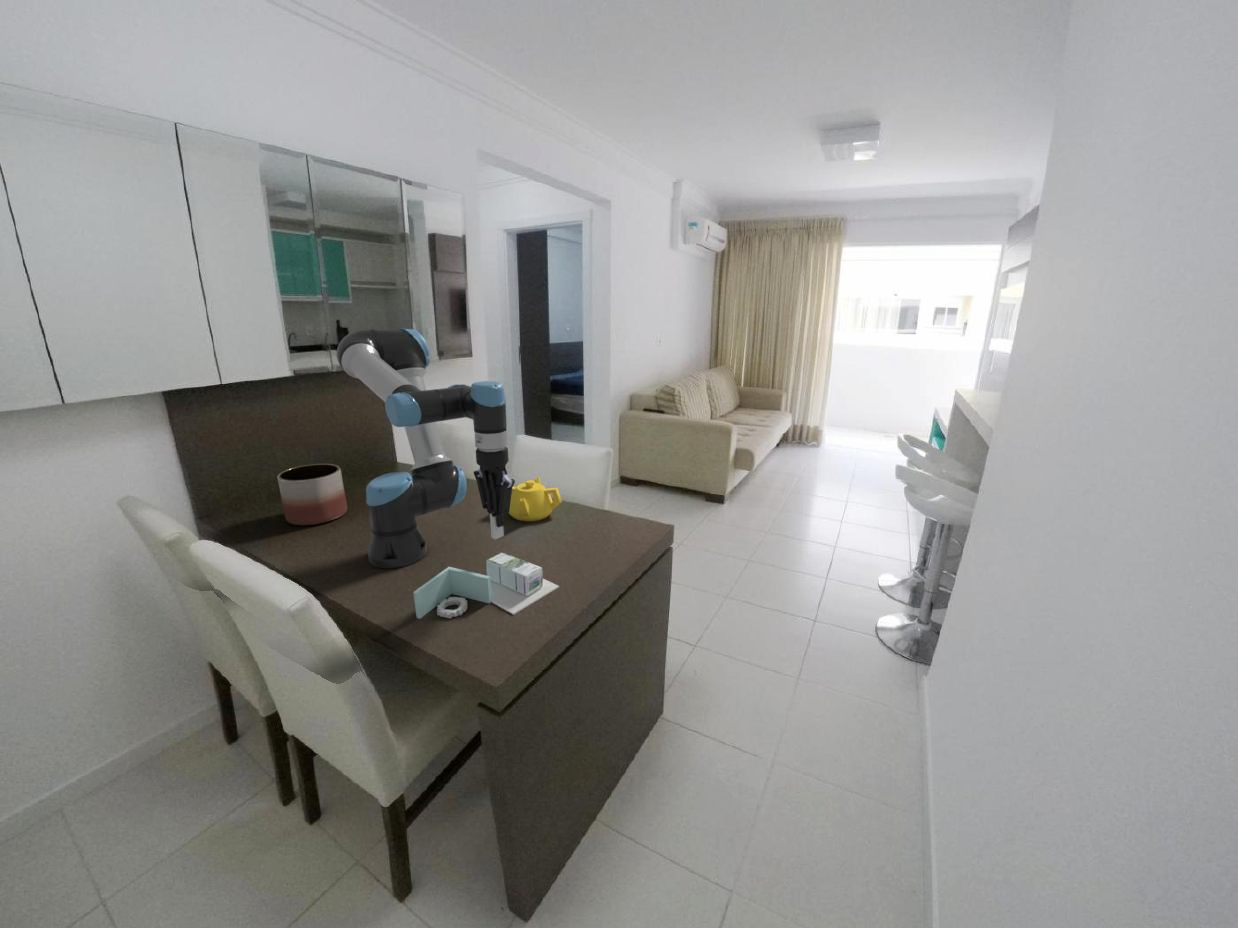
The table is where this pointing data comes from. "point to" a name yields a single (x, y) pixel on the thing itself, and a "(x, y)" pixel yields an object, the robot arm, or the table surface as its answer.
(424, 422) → the robot arm
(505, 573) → the syrup box
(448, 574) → the l-shaped corner panel
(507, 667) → the table surface
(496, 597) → the mat
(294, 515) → the planter
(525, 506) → the teapot
